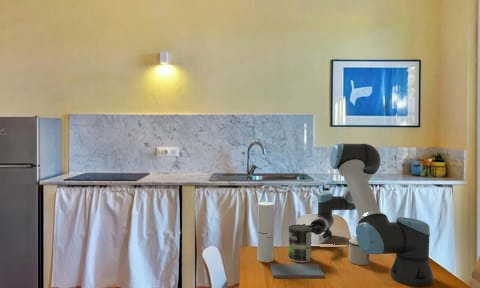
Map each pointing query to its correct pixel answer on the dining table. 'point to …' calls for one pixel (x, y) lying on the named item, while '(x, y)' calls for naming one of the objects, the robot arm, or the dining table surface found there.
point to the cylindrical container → (265, 232)
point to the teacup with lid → (357, 253)
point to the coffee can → (299, 243)
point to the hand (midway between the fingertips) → (305, 236)
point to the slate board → (296, 271)
